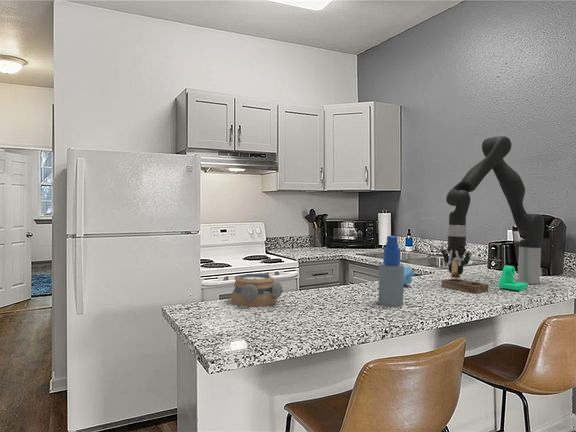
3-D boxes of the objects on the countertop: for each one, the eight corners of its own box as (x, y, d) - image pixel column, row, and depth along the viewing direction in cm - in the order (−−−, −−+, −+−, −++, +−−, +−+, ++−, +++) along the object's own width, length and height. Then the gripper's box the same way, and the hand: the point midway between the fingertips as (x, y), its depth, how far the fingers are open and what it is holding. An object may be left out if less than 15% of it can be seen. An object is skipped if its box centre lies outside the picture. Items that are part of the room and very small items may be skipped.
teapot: (422, 286, 188) (423, 264, 187) (402, 290, 179) (403, 266, 179) (390, 280, 202) (390, 259, 202) (370, 283, 193) (371, 261, 193)
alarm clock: (265, 271, 166) (293, 281, 146) (265, 294, 167) (293, 308, 146) (224, 274, 158) (248, 285, 138) (224, 298, 159) (248, 313, 138)
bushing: (454, 276, 190) (454, 258, 190) (461, 277, 187) (462, 259, 187) (449, 276, 188) (450, 259, 188) (456, 278, 185) (457, 260, 185)
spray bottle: (379, 299, 161) (381, 234, 160) (403, 302, 158) (405, 235, 157) (376, 305, 152) (378, 236, 151) (402, 307, 149) (404, 237, 149)
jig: (454, 284, 193) (454, 278, 193) (488, 291, 181) (488, 284, 180) (441, 287, 188) (441, 280, 187) (475, 293, 175) (475, 286, 174)
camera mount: (516, 292, 180) (517, 268, 179) (498, 289, 186) (499, 266, 185) (528, 289, 187) (529, 266, 187) (510, 286, 193) (511, 264, 193)
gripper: (476, 236, 183) (475, 275, 184) (447, 233, 195) (446, 270, 195) (467, 236, 179) (465, 276, 179) (437, 234, 190) (436, 271, 191)
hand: (455, 273), depth 187 cm, fingers closed on bushing, 3 cm apart
